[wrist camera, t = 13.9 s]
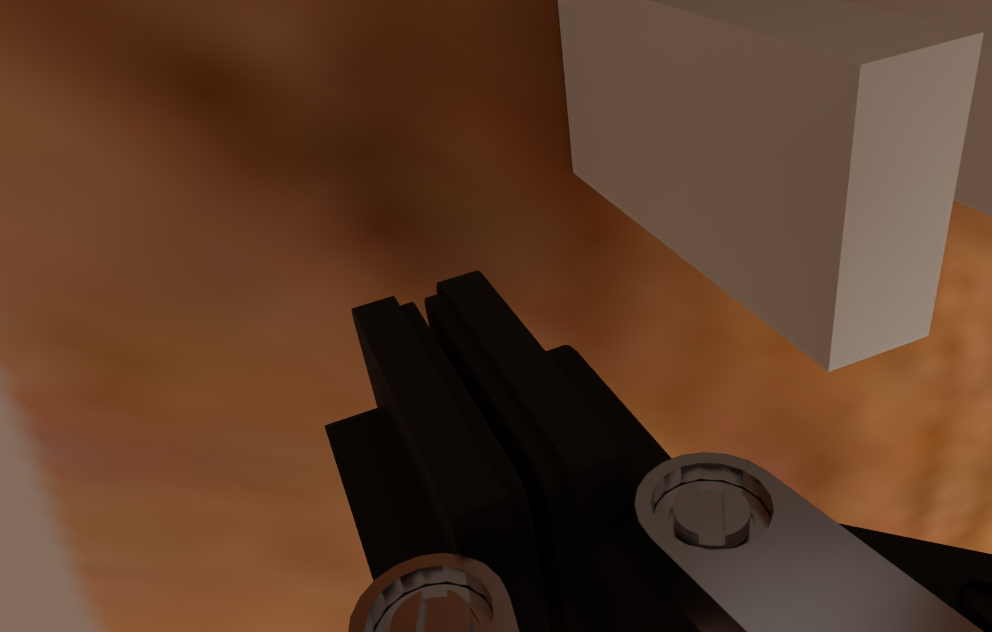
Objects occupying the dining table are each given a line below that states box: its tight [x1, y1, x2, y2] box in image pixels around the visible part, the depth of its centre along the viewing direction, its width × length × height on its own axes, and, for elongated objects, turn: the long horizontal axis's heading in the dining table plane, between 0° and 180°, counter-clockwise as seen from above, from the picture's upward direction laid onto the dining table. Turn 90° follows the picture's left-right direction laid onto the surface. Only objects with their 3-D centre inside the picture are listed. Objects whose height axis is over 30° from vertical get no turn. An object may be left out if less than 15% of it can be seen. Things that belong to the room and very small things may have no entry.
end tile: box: [558, 0, 984, 372], centre depth 16 cm, size 2×5×10 cm, turn 9°
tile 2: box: [841, 0, 992, 217], centre depth 18 cm, size 2×5×10 cm, turn 9°
